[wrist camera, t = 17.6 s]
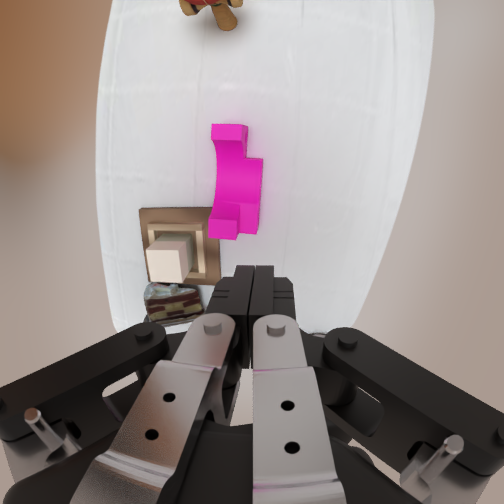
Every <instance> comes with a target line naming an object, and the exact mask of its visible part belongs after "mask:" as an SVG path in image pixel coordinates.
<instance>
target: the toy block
mask: <svg viewBox="0 0 504 504" xmlns="http://www.w3.org/2000/svg"><path fill="white" fill-rule="evenodd" d="M247 136H248V127H247V126H245V125H240V124H212V130H211V140H212V141H213V143H214V145H215V150H216V158H217V180H216V191H215V198H214V203H213V208H212V211H211V214H210V217H209V219H208V238H216V239H228V240H236V239H237V236H238V234H239V233H246V234H257V230H258V225H259V211H260V197H261V183H262V169H263V159H260V158H246V152H247Z"/></svg>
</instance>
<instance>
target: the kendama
mask: <svg viewBox="0 0 504 504" xmlns="http://www.w3.org/2000/svg"><path fill="white" fill-rule="evenodd" d="M179 3H180V7H181V9H182V11H183V13H184V14H185V15H187V16H191V15H196V14H198V12H199V11H200V10H201V9H202V8H204V7H205V6H207V5H210V6H211V8H212V11H213V14H214V16H215V18H216V21H217V23H218V26H219V28H220V29H221V30H224V31H229V30H232V29H234V28H235V27H236V26H237V19H236V17H235V16H234V15H233V13H232V12H231V10H230V8H229V7H228V5H230V6H231V7H233V8H237V7H241V6H242V4H243V0H179Z"/></svg>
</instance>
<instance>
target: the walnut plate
mask: <svg viewBox="0 0 504 504" xmlns="http://www.w3.org/2000/svg"><path fill="white" fill-rule="evenodd" d="M212 208H213V207H167V208H141V209H139V217H140V226H141V234H142V241H143V249H144V256H145V262H146V269H147V275H148V281H149V282H152V281H151V280H150V274H149V268H148V262H147V256H146V249H147V248H148V247H149V246H150V245H151V244H152V243H153V242H154V241H155V240H157V239H158V238H159V237H160V236H161V235H162V234H192V240H193V251H194V261H195V263H194V265H193V266H192V268H191V270H190V271H189V273H188V275H187V276H186V278H185V280H184V281H183V283H178V284H196V285H216V283H217V282H218V281H219V280H221V268H220V247H219V239H216V238H208V219H209V217H210V214H211V211H212ZM162 283H171V282H162Z"/></svg>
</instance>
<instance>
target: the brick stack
mask: <svg viewBox="0 0 504 504" xmlns="http://www.w3.org/2000/svg"><path fill="white" fill-rule="evenodd" d="M146 256H147V262H148V268H149V274H150V280H151V281H152V282H171V283H183V281H184V280H185V278H186V276H187V275H188V273H189V271H190V270H191V268H192V266H193V265H194V263H195V261H194V251H193V240H192V234H162V235H161V236H160V237H159V238H158V239H157V240H155V241H154V242H153V243H152V244H151V245H150V246H149V247H148V248H147V249H146Z"/></svg>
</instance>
